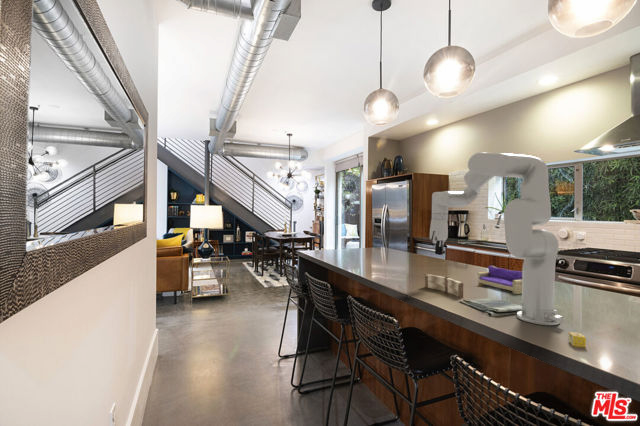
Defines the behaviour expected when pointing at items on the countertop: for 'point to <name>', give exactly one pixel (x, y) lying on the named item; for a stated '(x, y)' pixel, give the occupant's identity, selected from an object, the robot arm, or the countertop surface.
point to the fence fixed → (454, 287)
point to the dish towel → (493, 306)
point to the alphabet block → (577, 339)
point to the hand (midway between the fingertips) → (438, 254)
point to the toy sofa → (501, 279)
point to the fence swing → (435, 282)
